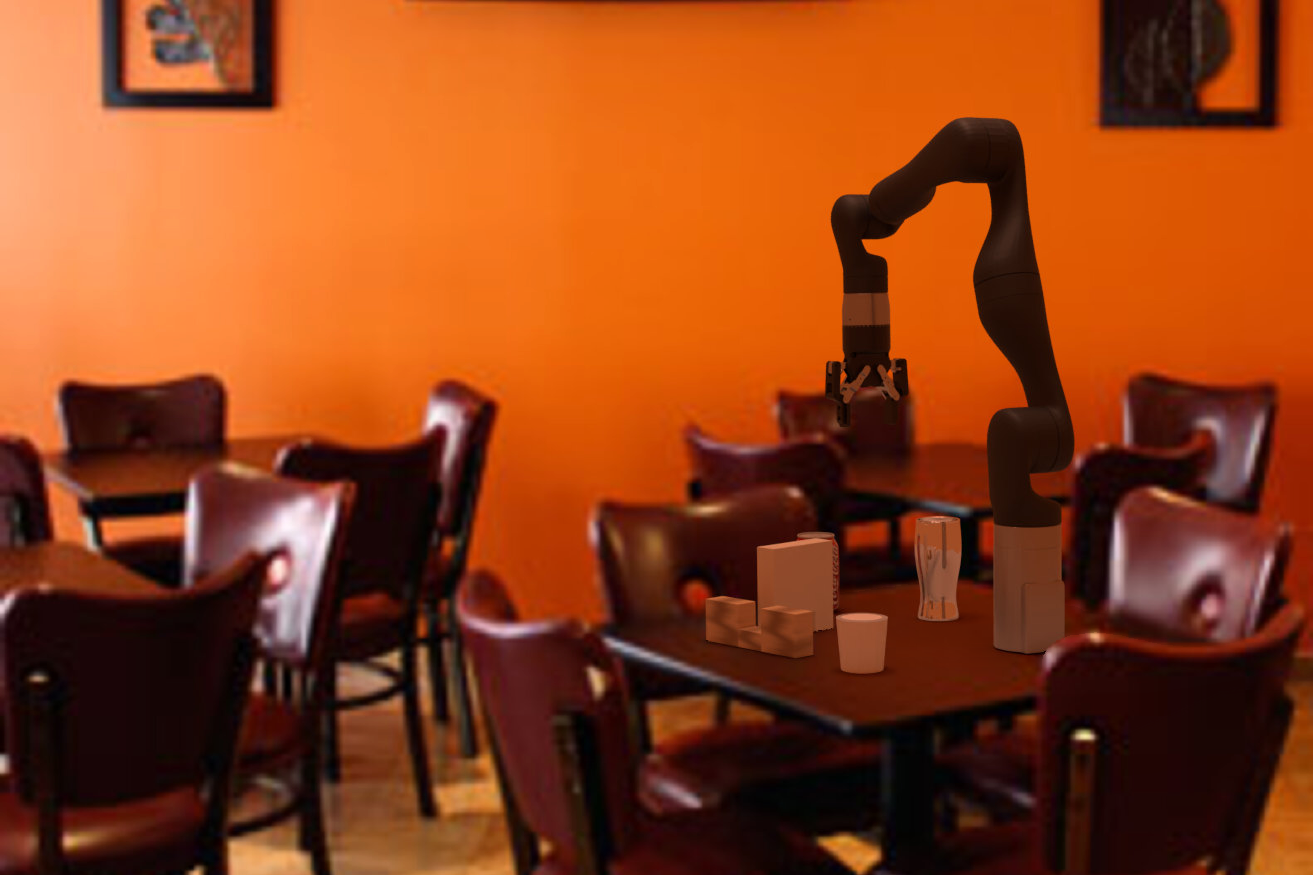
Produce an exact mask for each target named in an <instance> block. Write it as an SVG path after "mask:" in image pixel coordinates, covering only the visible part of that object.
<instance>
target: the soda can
mask: <svg viewBox="0 0 1313 875" xmlns="http://www.w3.org/2000/svg"><path fill="white" fill-rule="evenodd" d="M796 537H797V538H796V540H795V541H801V540H808V539H814V538H817V539H825V540H832V544H833V612H834V611H835V610H836V609H838V608H839V605H840V553H839V552H840V551H839V550H840V549H839V545H838V543H837V541H836V539H835V534H834V533H832V532H824V531H808V532H807V531H806V532H800V533H798V534H797V535H796Z"/></svg>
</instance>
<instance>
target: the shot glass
mask: <svg viewBox="0 0 1313 875" xmlns="http://www.w3.org/2000/svg"><path fill="white" fill-rule="evenodd" d="M888 618H889V617H888V616H887V615H884V614H880V613H875V612H873V613H872V612H849V613H848V612H847V613H842V614H839V615H836V616H835V619H836V622H835V623H836V630H837V631H836V632H837V640H838V652H839V653H838V654H839V660H840V661H839V662H840V671H843V672H846V673H850V674H875V673H879V672H883V671H884V669H885V668H884V667H885V658H886V657H885V654H886V653H885V652H886V644H887V642H886V641H887V631H888V620H889V619H888Z"/></svg>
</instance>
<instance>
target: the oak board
mask: <svg viewBox="0 0 1313 875" xmlns="http://www.w3.org/2000/svg"><path fill="white" fill-rule="evenodd" d="M756 609H757V608H756V600H755V601H754V600H749V599H743V598H737V597H736V598H735V597H731V596H730V597H729V596H726V595H725V596H724V595H720V596H715V597H709V598H705V637H706V640H708V641H707V642H713V643H717V644H722V645H727V646H730V647H731V646H732V647H736V648H737V647H738V648H742V649H747V650H752V651H758V652H762V653H767V654H772V655H777V656H783V657H787V658H792V659H799V658H804V657H808V656H813V655H814V631H813V611H808V610H802V609H796V608H790V607H784V606H772V607H767V608H761V627H758V625H757V624H756V623H757V622H756V621H757V618H756V617H757V616H756V613H757V611H756ZM706 640H705V641H706Z"/></svg>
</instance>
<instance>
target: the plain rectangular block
mask: <svg viewBox="0 0 1313 875" xmlns="http://www.w3.org/2000/svg"><path fill="white" fill-rule="evenodd" d="M756 557H757V560H756V564H757V568H756V569H757V574H756V575H757V626H758V627H761V608H767V607H772V606H784V607H790V608H796V609H802V610H808V611H813V632H815V631H816V632H819V631H818V630H822V631H826V629H827V630H831V628H832V629H834V611H833V544H832V540H825V539H817V538H814V539H808V540H801V541H796V540H793V541H788V542H782V543H781V542H780V543H774V544H768V545H760V546H757V547H756Z"/></svg>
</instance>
